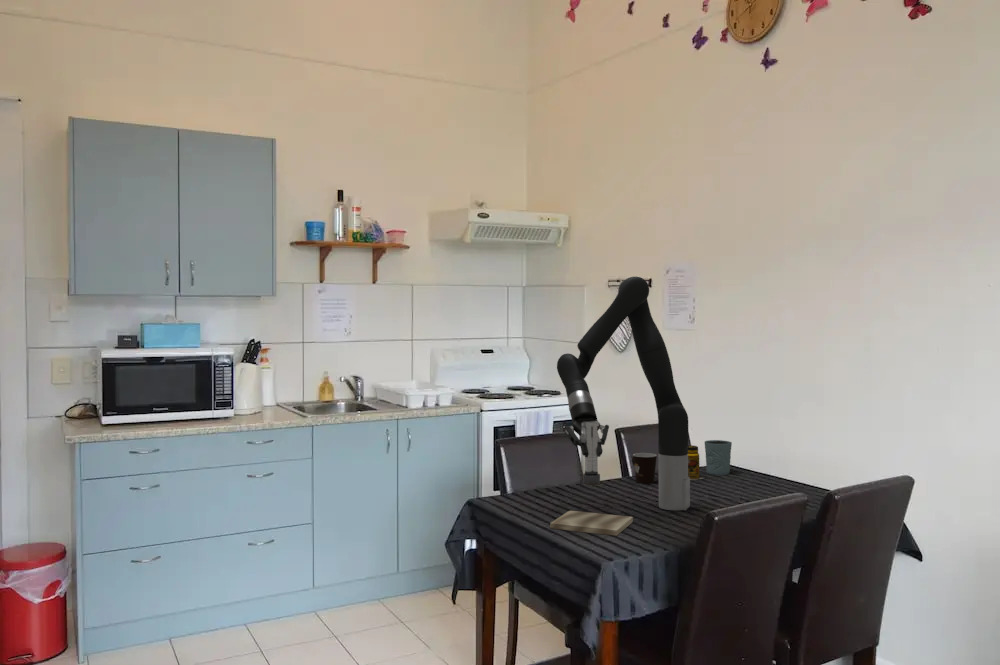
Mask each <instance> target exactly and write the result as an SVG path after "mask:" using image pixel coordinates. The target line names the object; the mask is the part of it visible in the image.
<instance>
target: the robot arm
mask: <svg viewBox="0 0 1000 665" xmlns="http://www.w3.org/2000/svg"><path fill="white" fill-rule="evenodd" d="M649 296H650V287H649V284H648V282H647V281H646V279H644V278H643V277H641V276H630V277H628V278H626V279H625V280H623V281H622V282H621V283H620V285H619V286H618V290H617V294H616V297H615V298H614V299H613V301H612V303H611V304H610V305H609V306H608V308H607V309H606V311H604V313H603V314H602V315H601V316H600V317H599V318H598V319H597V320H596V321H595V322H594V323H593V325H591V327H590V328H588V330H587V331H586V333H585V334H584V335H583V336H582V338H581V339H580V340H579V341H578V343H577V345H576V346H577V349H578V351H579V355H578V357H577V356H575V355H574V354H573V353H564V354H561V355H560V357H559V358H558V359H557V362H556V370H557V373H558V376H559V378H560V380H561V382H562V383H561V384H563V386H564V388H565V392H566V397H567V402H568V405H567V406H568V410H569V414H570V416H571V417H570V418H571V423H572V425H570V426H569V425H567V426H565V430H564V433H565V435H566V436H567V438H568V439H569V440H570V442H571V443H572V445H573V446H575V447H577V446H578V447H580V451H581V455H582V456H584V458H585V457H588V454H589V452H588V448H587V445H586V443H585V426H583V421H598V417H597V413H596V408H595V405H594V402H593V399H592V398H593V397H592V395H591V393H590V389H589V384H588V383H587V381H586V380H585V378H586V377H587V376H588V374H589V372H590V370H591V368H592V366H593V364H594V361H595V359H596V357H597V355H598V354H599V352H600V351H602V349H603V348H604V347H605V345H606V344H607V343H608V342H609V340H610V339H611V338H612V336H613V335H614V333H615V332H616V331H617V329H618V328H619V327H620V326H621V324H622V323H623V322H624V321H625V319H627V318H628V321H629V325H630V330H631V334H632V337H633V342H634V345H635V350H636V352H637V357H638V359H639V364H640V366H641V368H642V371H643V373H644V376H645V378H646V380H647V381H648V383H649V385H650V386H649V387H650V388H651V390H652V391H651V392H652V393H653V396H654V401H655V405H656V406H655V407H656V411H657V424H658V425H657V426H658V428H657V430H658V432H657V433H658V441H657V442H658V445H657V446H658V450H657V451H658V452H657V454H658V455H657V457H658V507H659V509H662V510H666V511H667V510H668V511H687V510H688V509H689V508H690V507H691V488H690V487H691V480H690V477H688V445H689V416H688V412H687V410H686V408H685V407H684V405H683V403H682V400H681V398H680V395H679V393H678V390H677V389H676V385H675V382H674V381H675V380H674V374H673V369H672V363H671V360H670V356H669V353H668V349H667V347H666V343H665V341H664V338H663V336H662V334H661V332H660V330H659V328H658V326H657V324H656V323H655V321H654V318H653V317H652V314H651V310H650V305H649V301H648V297H649ZM598 422H599V421H598ZM609 428H610V426H609V425H608V424H605V425H602V424H601V423H600V422H599V426H597V457H598V458H600V457H601V456H602V454H603V447H602V446H604V445H606V444H605V443H606V441H607V436H608V432H609ZM599 430H600V433H601V434H602V435H601V437H600V436H599V435H600V434H599V433H598V431H599ZM575 433H576V434H575Z"/></svg>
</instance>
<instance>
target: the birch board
mask: <svg viewBox="0 0 1000 665" xmlns="http://www.w3.org/2000/svg"><path fill="white" fill-rule="evenodd" d="M633 523H634V517H633V516H628V515H615V514H609V513H608V514H607V513H598V512H597V513H596V512H587V511H580V510H579V511H577V510H568V511H567V512H565V513H564V514H562V515H561V516H559V517H558V518H556V519H555V520H553V521H551V522H550V523H549V524H550V525H549V527H550V528H549V529H552V530H554V529H555V530H564V531H572V532H578V533H579V532H580V533H587V534H589V533H590V534H599V535H607V536H619V535H620V534H621V533H622V532H623V531H625V529H627V527H628V526H630V525H631V524H633Z"/></svg>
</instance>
